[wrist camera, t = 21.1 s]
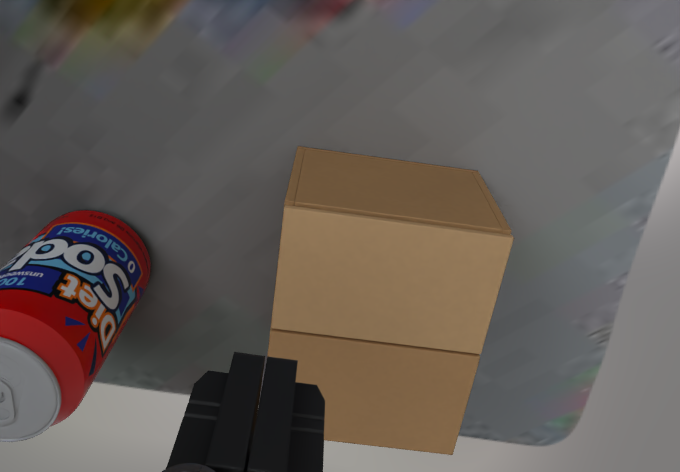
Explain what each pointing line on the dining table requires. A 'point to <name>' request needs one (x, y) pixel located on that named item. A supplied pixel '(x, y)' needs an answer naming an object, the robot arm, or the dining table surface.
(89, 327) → the soda can
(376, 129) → the dining table surface
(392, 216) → the carton
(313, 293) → the flap
